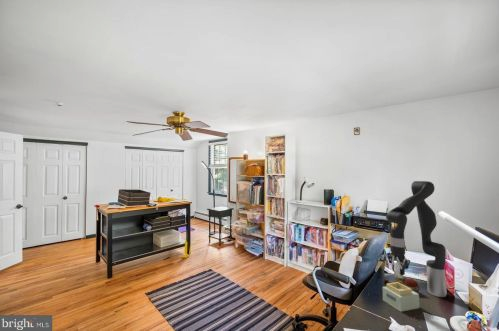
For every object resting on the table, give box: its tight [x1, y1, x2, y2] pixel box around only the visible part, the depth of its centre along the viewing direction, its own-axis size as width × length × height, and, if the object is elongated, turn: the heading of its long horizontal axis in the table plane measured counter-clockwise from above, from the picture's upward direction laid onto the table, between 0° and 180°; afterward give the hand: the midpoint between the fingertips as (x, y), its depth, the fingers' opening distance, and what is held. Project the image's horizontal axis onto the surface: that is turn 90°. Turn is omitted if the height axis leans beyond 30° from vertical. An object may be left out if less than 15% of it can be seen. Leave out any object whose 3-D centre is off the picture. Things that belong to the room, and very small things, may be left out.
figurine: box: [383, 276, 421, 293], centre depth 146 cm, size 15×9×20 cm
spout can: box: [393, 258, 404, 278], centre depth 132 cm, size 4×4×11 cm
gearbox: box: [382, 282, 420, 312], centre depth 133 cm, size 14×15×10 cm
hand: (398, 273), depth 132 cm, fingers closed on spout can, 4 cm apart
